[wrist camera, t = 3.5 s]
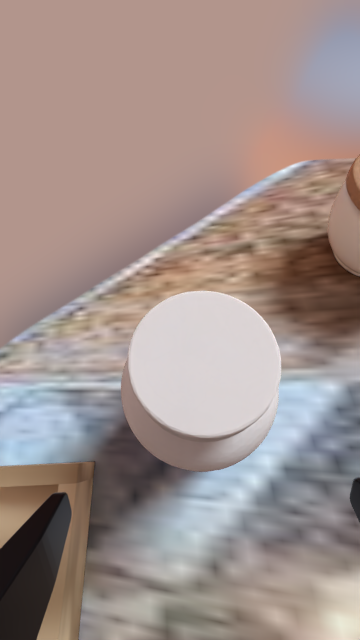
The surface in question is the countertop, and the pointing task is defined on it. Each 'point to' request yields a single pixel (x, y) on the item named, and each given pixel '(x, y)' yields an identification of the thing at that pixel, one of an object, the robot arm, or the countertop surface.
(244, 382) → the supplement bottle
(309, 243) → the countertop surface
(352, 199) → the lidded jar
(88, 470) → the tray
